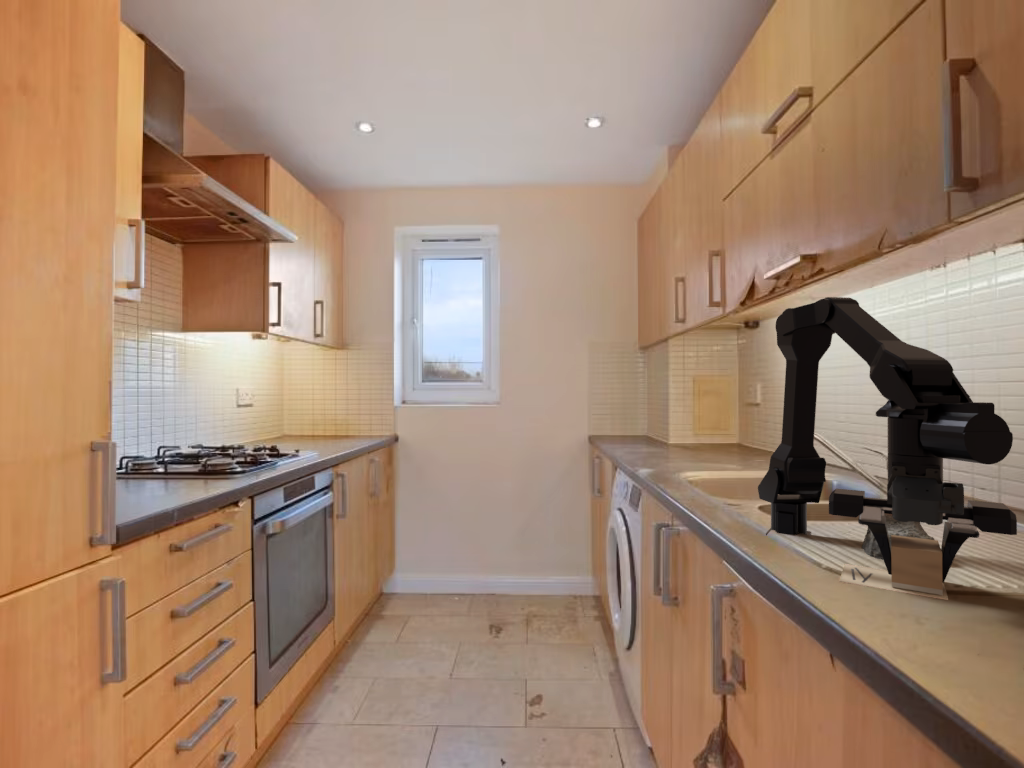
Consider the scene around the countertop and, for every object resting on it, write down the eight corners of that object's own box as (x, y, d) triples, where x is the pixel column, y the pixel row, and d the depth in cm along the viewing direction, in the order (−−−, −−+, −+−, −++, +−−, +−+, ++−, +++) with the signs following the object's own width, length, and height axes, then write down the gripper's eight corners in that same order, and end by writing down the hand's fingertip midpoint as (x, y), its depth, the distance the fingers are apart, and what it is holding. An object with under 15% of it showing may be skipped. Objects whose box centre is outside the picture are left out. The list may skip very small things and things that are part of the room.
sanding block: (891, 572, 75) (891, 534, 75) (938, 579, 72) (937, 540, 72) (891, 586, 69) (891, 546, 69) (942, 595, 66) (942, 552, 66)
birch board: (844, 572, 79) (844, 563, 79) (942, 587, 73) (942, 578, 73) (839, 590, 71) (839, 581, 71) (948, 610, 65) (948, 599, 65)
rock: (948, 575, 77) (947, 528, 78) (879, 571, 79) (878, 525, 80) (903, 550, 91) (902, 509, 91) (845, 547, 92) (844, 507, 93)
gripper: (824, 455, 69) (824, 581, 69) (1026, 467, 59) (1027, 615, 59) (832, 448, 79) (832, 559, 78) (1007, 457, 68) (1008, 585, 68)
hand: (915, 577), depth 71 cm, fingers closed on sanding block, 5 cm apart
